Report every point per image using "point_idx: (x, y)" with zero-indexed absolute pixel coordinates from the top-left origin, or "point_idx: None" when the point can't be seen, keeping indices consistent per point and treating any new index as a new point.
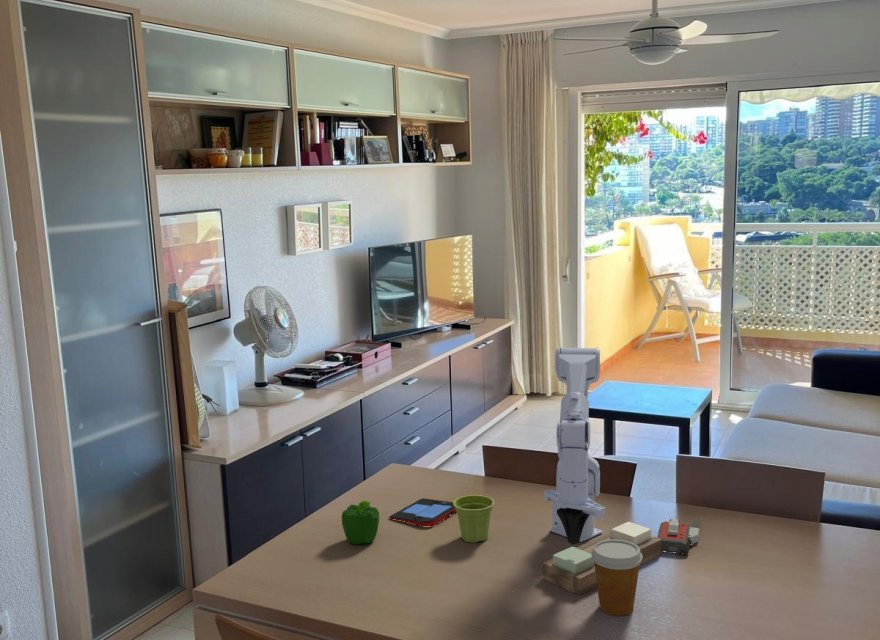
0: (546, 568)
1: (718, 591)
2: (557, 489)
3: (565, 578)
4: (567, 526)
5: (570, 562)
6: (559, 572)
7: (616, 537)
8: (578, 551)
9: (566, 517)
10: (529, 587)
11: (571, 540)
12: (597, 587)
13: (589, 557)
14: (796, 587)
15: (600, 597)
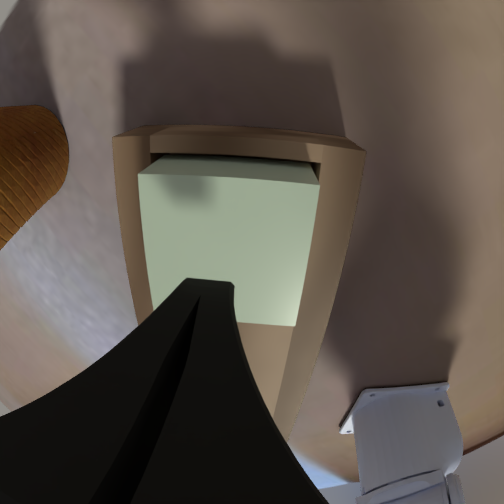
0: (334, 142)
1: (23, 347)
2: (458, 487)
3: (207, 130)
4: (181, 382)
5: (174, 174)
6: (245, 135)
7: None
8: (236, 304)
9: (94, 487)
10: (339, 43)
11: (182, 290)
12: (15, 124)
13: (151, 282)
14: (15, 389)
15: (13, 108)
